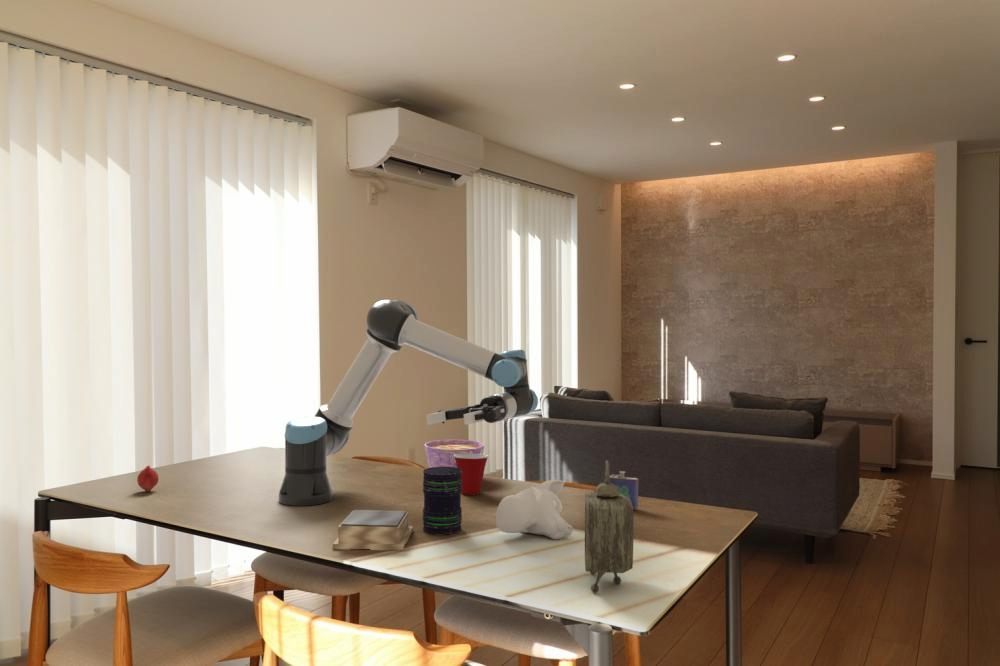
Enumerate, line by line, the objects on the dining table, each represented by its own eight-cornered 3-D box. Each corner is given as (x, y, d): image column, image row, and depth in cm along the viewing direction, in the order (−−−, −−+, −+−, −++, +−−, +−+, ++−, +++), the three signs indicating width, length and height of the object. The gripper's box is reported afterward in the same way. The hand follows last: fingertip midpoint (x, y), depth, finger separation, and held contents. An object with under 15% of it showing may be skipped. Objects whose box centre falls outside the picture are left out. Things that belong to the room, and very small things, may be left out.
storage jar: (414, 530, 189) (414, 471, 189) (440, 522, 197) (440, 465, 196) (444, 537, 183) (444, 476, 183) (469, 528, 191) (470, 470, 191)
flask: (638, 509, 212) (639, 471, 212) (636, 511, 210) (637, 473, 210) (606, 506, 216) (607, 468, 216) (604, 508, 213) (604, 470, 213)
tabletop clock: (584, 571, 160) (585, 453, 159) (627, 572, 159) (629, 455, 159) (585, 596, 146) (587, 467, 145) (633, 598, 145) (635, 468, 144)
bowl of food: (488, 485, 241) (489, 449, 241) (426, 486, 238) (426, 450, 237) (480, 472, 261) (480, 439, 260) (422, 473, 257) (422, 440, 257)
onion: (132, 492, 225) (132, 466, 225) (148, 488, 231) (148, 462, 231) (147, 494, 223) (147, 467, 223) (162, 490, 228) (162, 464, 228)
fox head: (558, 520, 172) (597, 498, 189) (501, 486, 181) (544, 467, 197) (541, 569, 176) (581, 543, 193) (486, 533, 184) (529, 511, 201)
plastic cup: (490, 489, 235) (490, 451, 234) (486, 497, 224) (486, 457, 224) (455, 488, 236) (456, 450, 235) (450, 496, 225) (450, 456, 225)
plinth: (332, 549, 173) (332, 525, 173) (349, 529, 189) (349, 508, 189) (401, 550, 172) (402, 527, 172) (413, 531, 188) (413, 509, 188)
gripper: (533, 420, 206) (483, 434, 190) (466, 421, 222) (414, 433, 206) (530, 393, 206) (480, 404, 190) (463, 396, 222) (411, 406, 206)
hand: (445, 419), depth 198 cm, fingers open, 13 cm apart
